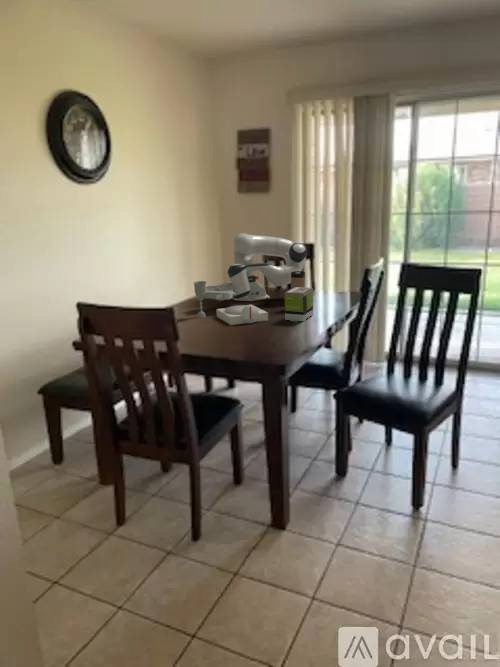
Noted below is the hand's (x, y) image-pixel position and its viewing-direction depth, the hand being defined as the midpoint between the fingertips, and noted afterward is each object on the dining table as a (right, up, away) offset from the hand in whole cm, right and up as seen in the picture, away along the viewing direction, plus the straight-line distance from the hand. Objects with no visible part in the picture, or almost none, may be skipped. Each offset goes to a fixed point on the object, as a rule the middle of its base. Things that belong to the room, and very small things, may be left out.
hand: (208, 297), depth 262 cm
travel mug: (+48, -6, +11) cm, 50 cm away
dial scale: (+18, -11, -8) cm, 23 cm away
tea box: (+47, -12, -10) cm, 49 cm away
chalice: (-3, -10, -2) cm, 11 cm away
